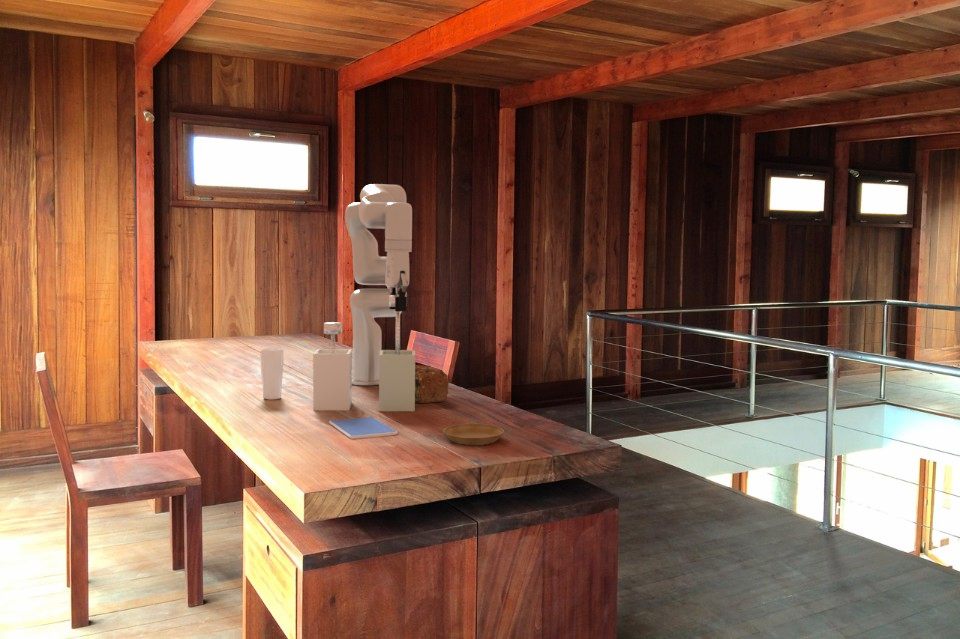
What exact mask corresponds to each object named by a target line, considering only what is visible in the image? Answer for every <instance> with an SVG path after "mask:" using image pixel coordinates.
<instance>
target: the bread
mask: <svg viewBox="0 0 960 639" xmlns="http://www.w3.org/2000/svg"><path fill="white" fill-rule="evenodd" d="M449 384H450V382H449V379H448V374H446V373H445V371H443V370H442V369H440V368H435V367H432V366H427V365H421V364H415V403H420V404H428V403H429V404H430V403H442V402H445V401H446V400H447V399H448V394H449Z"/></svg>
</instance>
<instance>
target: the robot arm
mask: <svg viewBox="0 0 960 639" xmlns="http://www.w3.org/2000/svg"><path fill="white" fill-rule="evenodd" d="M359 198H360V202H352V203H351V204H349V205H347V206H346V208H345V210H344V211H345V212H344V219H345V220H344V222H345V226H346V230H347V233H348V236H349V237H350V242H351V246H352V271H353V279H354V281H355V283H357V284H359V285H365V286H386V287H387V288H359V289H356V290H354V291H353V292H352V293H351V295H350V298H349V302H350V304H349V306H350V312H351V320H352V386H353V385H354V386H379V354H380V350H382V343H383V342H382V340H383V339H382V335H383V334H382V328H381V326H380V325H379V324H378V322H376V321H375V318H394V317H395V318H396V311H400V315H401V314H402V313H403V312H407V309H408V308H407V306H408V305H407V304H408V293H407V288H408V286H409V285H410V254H409V253H412V247H413V246H412V245H413V244H412V243H413V242H412V241H413V240H412V239H413V208H412V205H411V204H410V203H408V202H407V193H406V191H405V189H404V188H403V187H402V186H401V185H399V184H383V183H380V184H379V183H373V184H372V183H370V184H367V185H365V186H364V187H363V188H362V189H361V191H360V194H359ZM368 229H375V230H376V229H377V230H378V229H383V230H384V238H385V239H384V252H386V256H380V255H379V244H378V240H377V239H376V237H375V236H374V234H373V233H371V231H370V230H368ZM389 295H396V297H395V307H390V306H389Z"/></svg>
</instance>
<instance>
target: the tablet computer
mask: <svg viewBox="0 0 960 639" xmlns="http://www.w3.org/2000/svg"><path fill="white" fill-rule="evenodd" d="M328 424H329V425H331V426H333V427H334V428H335V429H336V430H338V431H339V432H341V434H343V435H345V436H346V437H348V438H349V439H350V440H357V439H367V438H370V439H371V438H379V437H388V436H395V435H398V434H399V433H398V431H397V430H396V429H394V428H392V427H390V426H388V425H387V424H385V423H384V422H381V421H380V420H378V419H376V418H375V417H374V416H369V417H356V418H345V419H333V420H329V421H328Z"/></svg>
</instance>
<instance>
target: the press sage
mask: <svg viewBox="0 0 960 639" xmlns="http://www.w3.org/2000/svg"><path fill="white" fill-rule="evenodd" d="M415 365H416V350H413V349H411V350H410V349H409V350H408V349H407V350H406V349H401V350H400V355H395V349H381V350H380V354H379V385H378V389H379V390H378V391H379V392H378V412H415V411H416V410H415V409H416V408H415V406H416V405H415V403H416V402H415Z"/></svg>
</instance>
